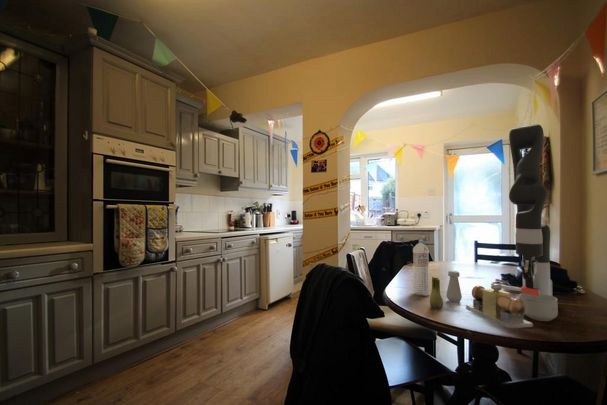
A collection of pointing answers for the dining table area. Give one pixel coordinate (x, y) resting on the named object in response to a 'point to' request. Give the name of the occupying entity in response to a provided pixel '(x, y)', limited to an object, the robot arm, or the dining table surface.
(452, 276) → the salt shaker
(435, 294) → the fennel bulb
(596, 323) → the dining table surface
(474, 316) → the dining table surface
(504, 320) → the pipe run
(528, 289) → the valve lever
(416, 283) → the water bottle
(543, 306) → the teacup
